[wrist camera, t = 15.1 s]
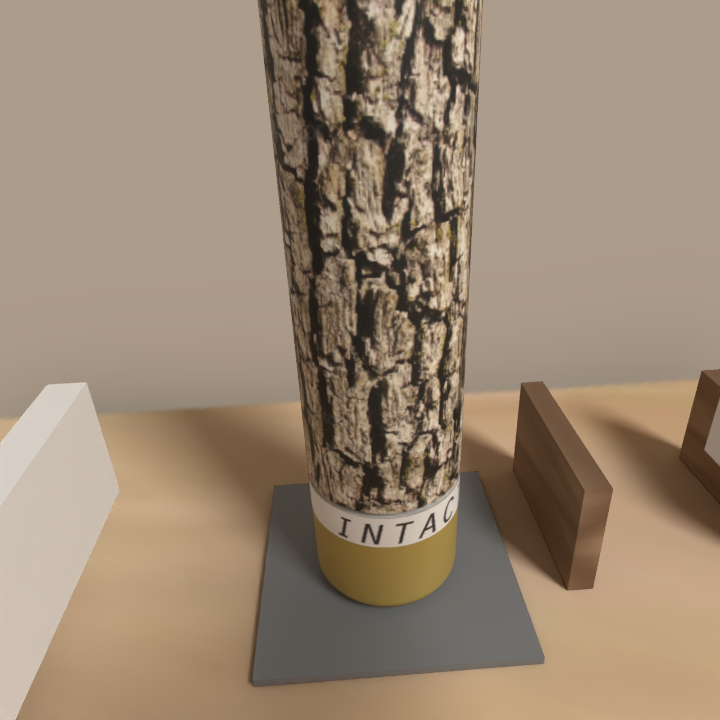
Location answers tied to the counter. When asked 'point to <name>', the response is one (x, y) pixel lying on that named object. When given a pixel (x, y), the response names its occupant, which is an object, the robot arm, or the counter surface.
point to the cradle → (588, 475)
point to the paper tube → (378, 271)
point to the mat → (388, 624)
